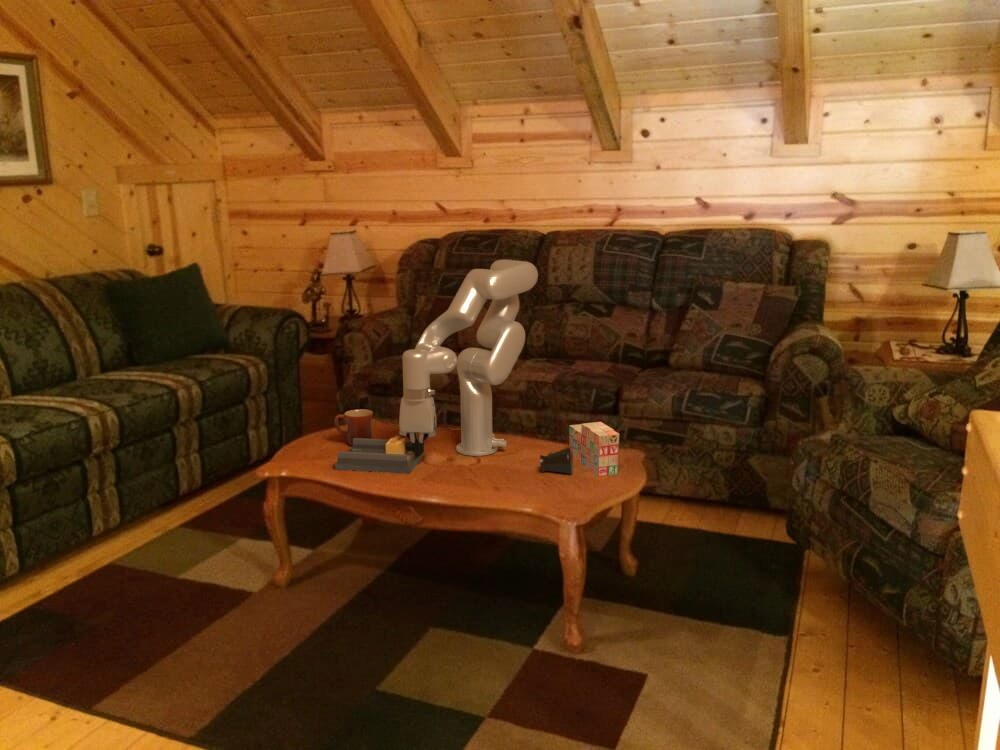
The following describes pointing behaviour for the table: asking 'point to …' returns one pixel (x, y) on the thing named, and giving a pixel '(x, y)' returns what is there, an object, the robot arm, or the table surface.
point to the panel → (411, 464)
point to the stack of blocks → (595, 447)
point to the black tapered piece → (558, 461)
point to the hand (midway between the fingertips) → (418, 454)
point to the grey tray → (373, 454)
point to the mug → (356, 424)
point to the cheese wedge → (396, 446)
